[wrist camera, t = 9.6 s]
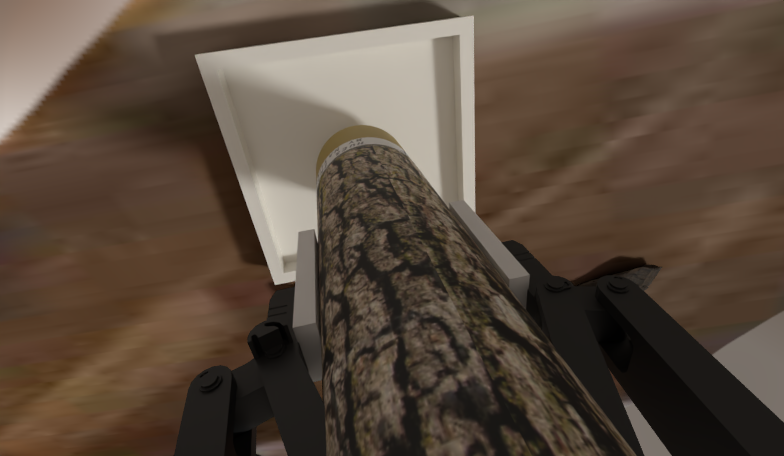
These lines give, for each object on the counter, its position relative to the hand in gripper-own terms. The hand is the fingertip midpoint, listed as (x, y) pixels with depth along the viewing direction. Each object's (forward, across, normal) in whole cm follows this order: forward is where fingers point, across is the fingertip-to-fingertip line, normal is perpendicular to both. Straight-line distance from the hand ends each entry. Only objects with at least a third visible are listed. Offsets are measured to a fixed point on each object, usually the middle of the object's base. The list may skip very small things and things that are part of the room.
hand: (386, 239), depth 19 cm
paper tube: (+11, 0, 0) cm, 11 cm away
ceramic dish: (+13, 0, 0) cm, 13 cm away
